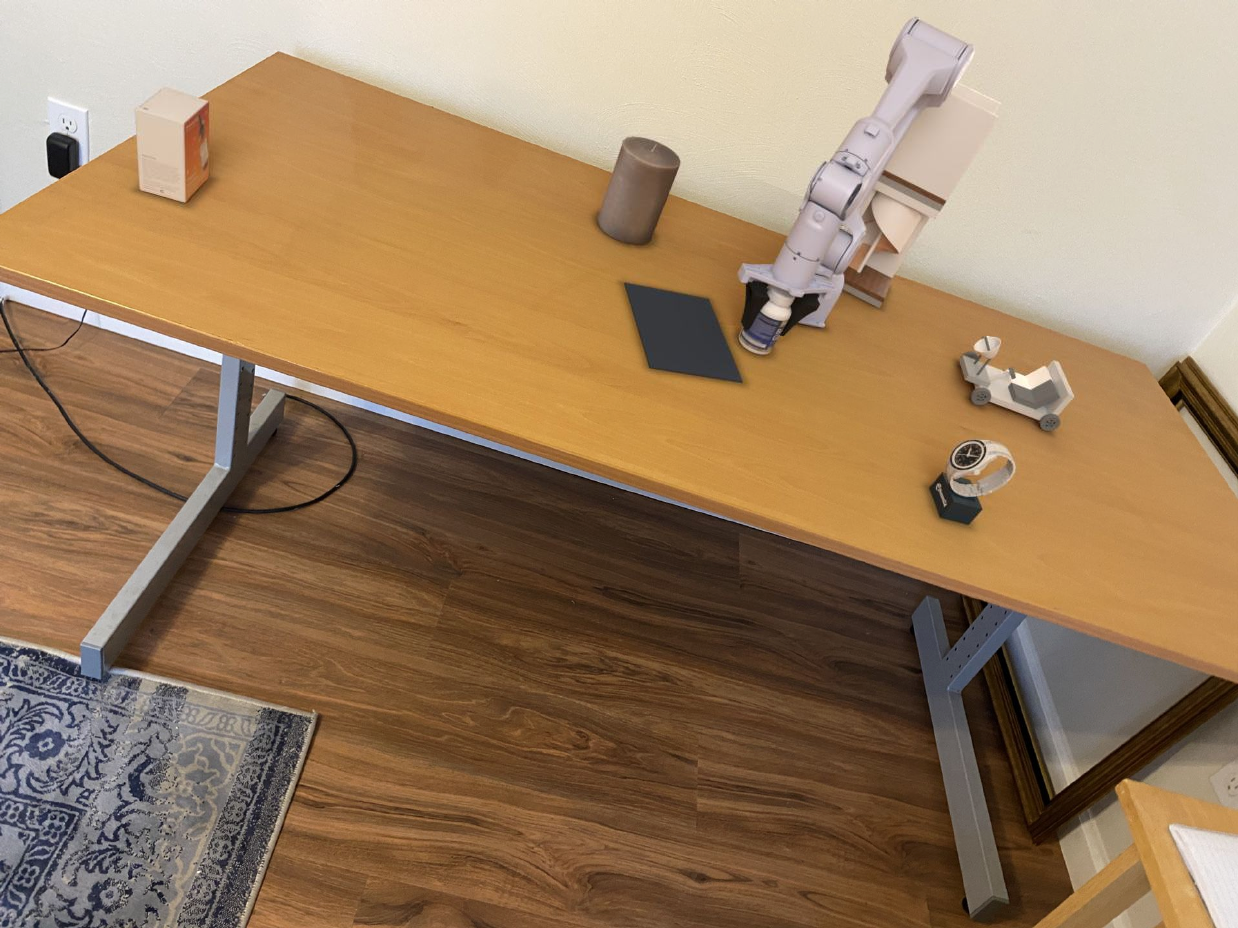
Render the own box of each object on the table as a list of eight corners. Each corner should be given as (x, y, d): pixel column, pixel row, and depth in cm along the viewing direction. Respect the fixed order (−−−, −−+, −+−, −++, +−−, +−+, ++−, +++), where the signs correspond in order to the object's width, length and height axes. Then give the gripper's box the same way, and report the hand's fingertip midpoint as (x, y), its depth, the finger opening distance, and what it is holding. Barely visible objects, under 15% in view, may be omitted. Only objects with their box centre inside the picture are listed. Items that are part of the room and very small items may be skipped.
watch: (916, 484, 113) (963, 425, 106) (968, 498, 115) (1018, 440, 107) (927, 514, 109) (977, 455, 102) (980, 528, 110) (1033, 470, 103)
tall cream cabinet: (821, 278, 149) (930, 84, 127) (832, 257, 158) (936, 72, 135) (879, 308, 148) (999, 118, 126) (886, 285, 156) (1001, 103, 134)
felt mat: (708, 300, 131) (708, 298, 130) (742, 382, 117) (742, 381, 117) (624, 283, 126) (624, 282, 126) (649, 368, 112) (650, 366, 112)
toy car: (989, 347, 128) (976, 310, 136) (952, 396, 134) (942, 356, 143) (1093, 388, 129) (1074, 348, 138) (1052, 433, 136) (1036, 392, 144)
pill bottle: (769, 360, 123) (799, 306, 117) (735, 346, 123) (764, 291, 117) (771, 342, 128) (801, 289, 121) (739, 328, 127) (766, 274, 121)
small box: (185, 205, 105) (183, 124, 98) (138, 190, 104) (133, 108, 97) (210, 178, 111) (210, 100, 104) (166, 164, 110) (163, 85, 103)
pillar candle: (661, 236, 141) (695, 153, 131) (632, 251, 134) (665, 164, 124) (616, 208, 143) (645, 123, 133) (584, 221, 136) (613, 133, 126)
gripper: (766, 255, 110) (725, 337, 118) (859, 275, 114) (813, 353, 123) (751, 227, 114) (713, 308, 123) (841, 248, 119) (798, 324, 128)
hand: (762, 329), depth 124 cm, fingers closed on pill bottle, 5 cm apart
